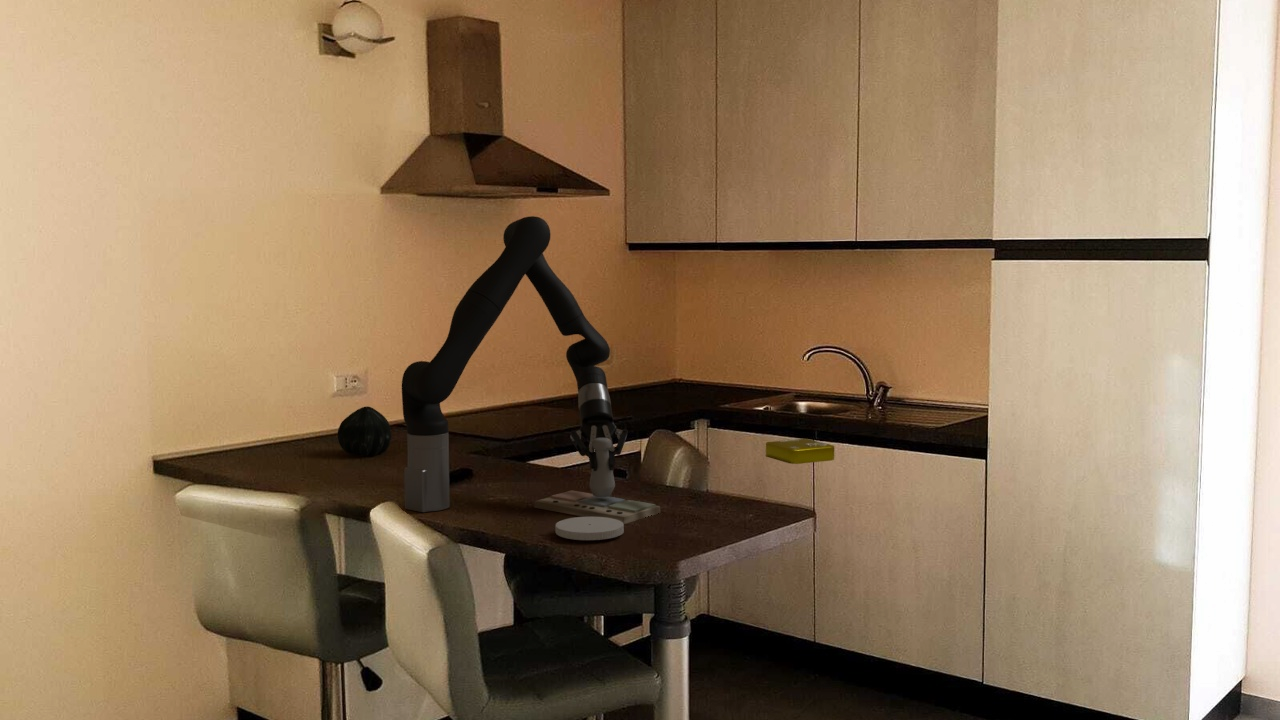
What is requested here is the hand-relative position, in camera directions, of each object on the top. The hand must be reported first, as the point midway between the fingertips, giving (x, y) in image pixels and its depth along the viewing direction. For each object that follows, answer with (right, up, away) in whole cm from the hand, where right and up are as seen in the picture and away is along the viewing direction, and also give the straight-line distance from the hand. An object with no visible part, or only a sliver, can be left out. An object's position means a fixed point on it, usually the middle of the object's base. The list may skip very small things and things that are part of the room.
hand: (603, 468), depth 255 cm
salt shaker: (0, -6, +3) cm, 7 cm away
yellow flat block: (+53, -4, +67) cm, 86 cm away
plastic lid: (-2, -12, -21) cm, 24 cm away
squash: (-71, -3, +72) cm, 101 cm away
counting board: (-2, -9, +1) cm, 10 cm away
